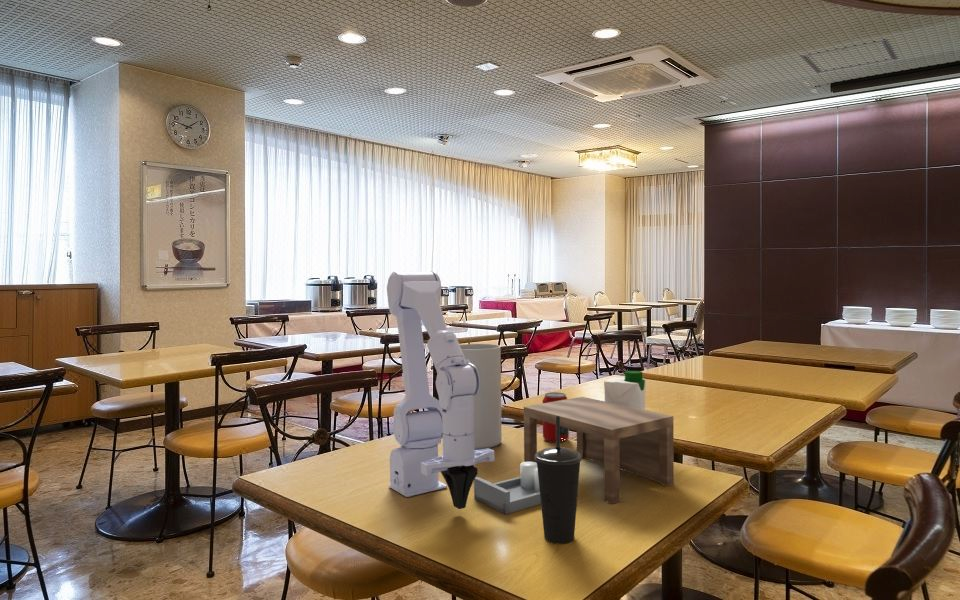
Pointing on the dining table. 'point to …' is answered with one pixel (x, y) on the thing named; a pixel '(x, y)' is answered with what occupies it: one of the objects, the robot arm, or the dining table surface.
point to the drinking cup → (558, 489)
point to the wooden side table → (610, 438)
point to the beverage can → (550, 428)
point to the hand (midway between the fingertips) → (459, 506)
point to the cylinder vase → (486, 393)
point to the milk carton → (626, 390)
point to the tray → (511, 490)
